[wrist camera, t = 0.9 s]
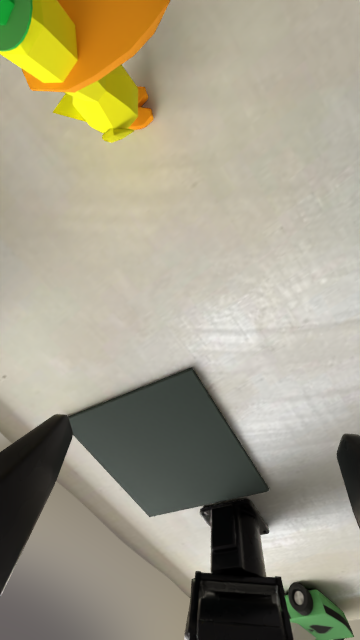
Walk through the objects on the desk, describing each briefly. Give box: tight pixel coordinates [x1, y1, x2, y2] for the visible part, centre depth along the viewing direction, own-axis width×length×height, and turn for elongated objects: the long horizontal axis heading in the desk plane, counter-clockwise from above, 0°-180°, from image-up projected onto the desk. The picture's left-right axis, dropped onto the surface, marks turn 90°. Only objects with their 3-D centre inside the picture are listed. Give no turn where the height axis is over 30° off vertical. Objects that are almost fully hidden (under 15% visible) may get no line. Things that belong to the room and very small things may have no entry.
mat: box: [69, 368, 269, 517], centre depth 29 cm, size 18×16×1 cm
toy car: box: [285, 583, 354, 640], centre depth 39 cm, size 10×19×5 cm, turn 131°
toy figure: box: [0, 0, 170, 143], centre depth 11 cm, size 7×4×12 cm, turn 108°
